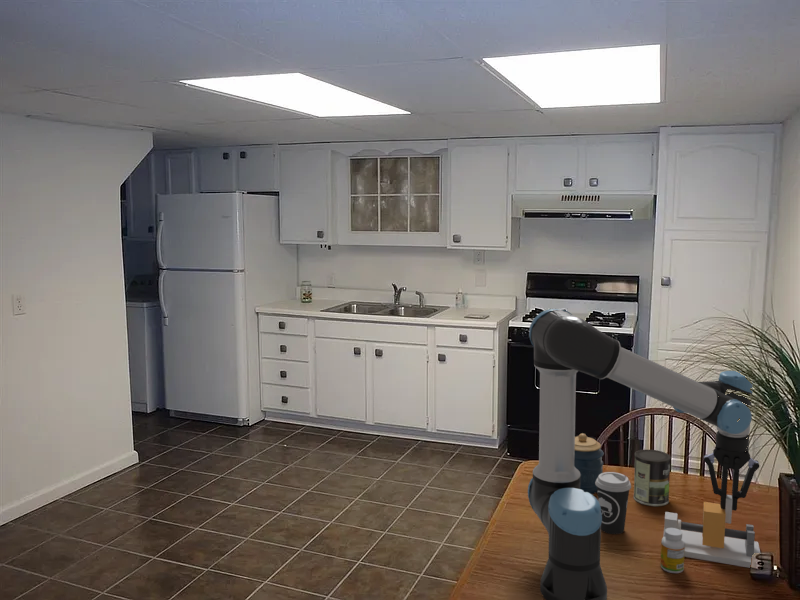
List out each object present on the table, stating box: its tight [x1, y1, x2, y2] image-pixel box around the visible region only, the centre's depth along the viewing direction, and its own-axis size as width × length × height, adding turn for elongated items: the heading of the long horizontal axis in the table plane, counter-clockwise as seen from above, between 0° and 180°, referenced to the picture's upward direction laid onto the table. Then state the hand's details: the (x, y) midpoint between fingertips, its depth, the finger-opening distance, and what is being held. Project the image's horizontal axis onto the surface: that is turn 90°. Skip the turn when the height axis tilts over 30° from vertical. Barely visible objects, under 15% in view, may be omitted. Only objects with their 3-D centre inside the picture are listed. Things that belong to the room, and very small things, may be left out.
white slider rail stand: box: [662, 511, 761, 569], centre depth 178 cm, size 12×23×8 cm, turn 67°
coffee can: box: [633, 449, 672, 507], centre depth 209 cm, size 10×10×14 cm
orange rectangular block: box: [702, 501, 726, 548], centre depth 178 cm, size 6×5×9 cm
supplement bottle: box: [660, 528, 685, 574], centre depth 170 cm, size 5×5×10 cm
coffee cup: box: [595, 471, 632, 535], centre depth 190 cm, size 10×10×15 cm
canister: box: [574, 432, 605, 495], centre depth 219 cm, size 13×13×18 cm
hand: (727, 520), depth 176 cm, fingers closed
